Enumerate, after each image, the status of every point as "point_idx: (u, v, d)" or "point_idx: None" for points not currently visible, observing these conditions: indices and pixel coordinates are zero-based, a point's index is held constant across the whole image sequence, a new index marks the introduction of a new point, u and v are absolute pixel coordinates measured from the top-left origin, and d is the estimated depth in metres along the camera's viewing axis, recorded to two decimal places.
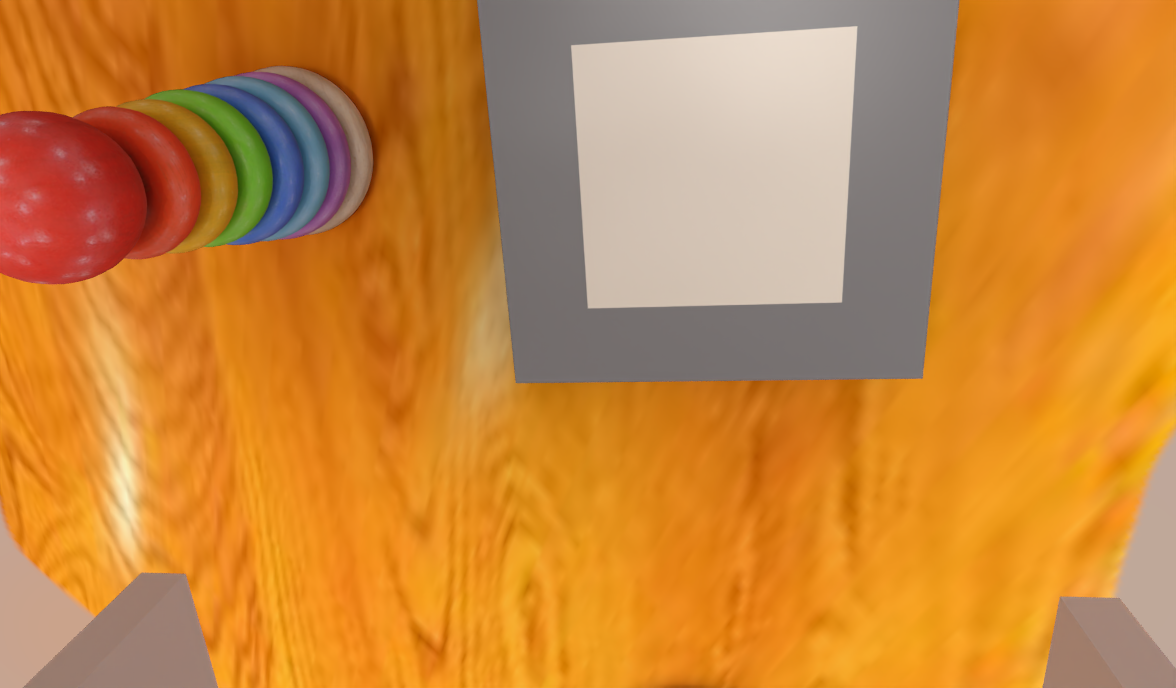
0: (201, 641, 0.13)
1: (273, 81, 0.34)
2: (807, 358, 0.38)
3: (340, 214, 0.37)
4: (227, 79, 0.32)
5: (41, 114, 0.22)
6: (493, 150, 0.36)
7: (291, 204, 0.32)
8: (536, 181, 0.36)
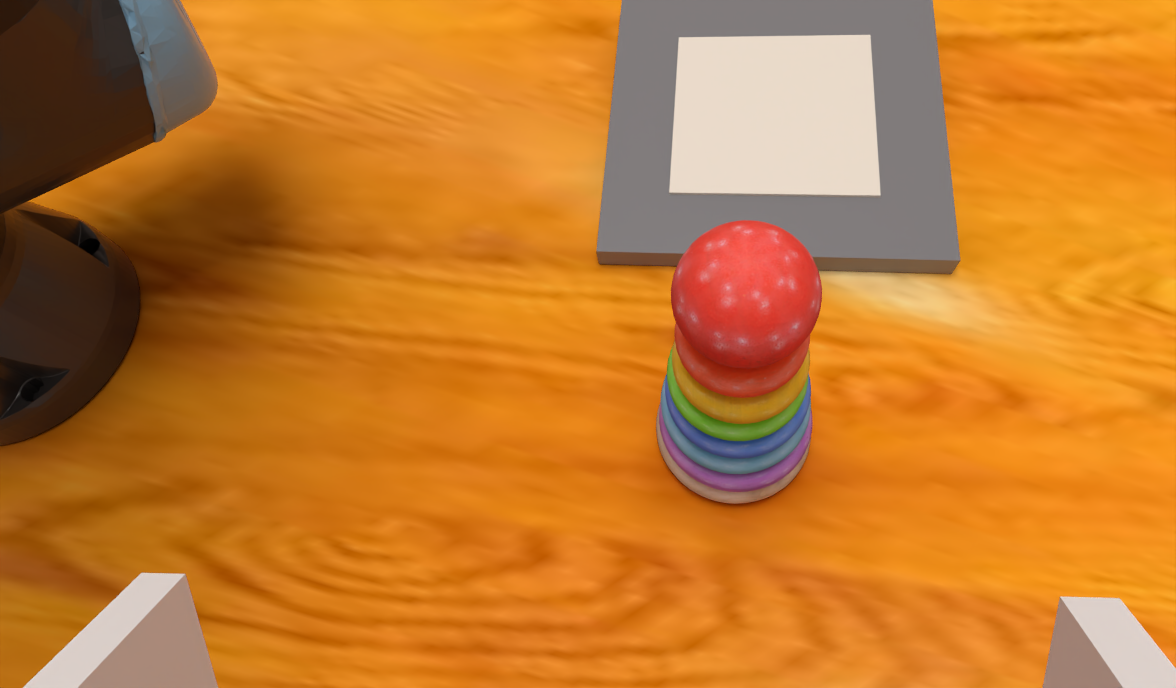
0: (201, 641, 0.13)
1: None
2: (919, 54, 0.48)
3: None
4: (663, 394, 0.37)
5: None
6: None
7: None
8: None
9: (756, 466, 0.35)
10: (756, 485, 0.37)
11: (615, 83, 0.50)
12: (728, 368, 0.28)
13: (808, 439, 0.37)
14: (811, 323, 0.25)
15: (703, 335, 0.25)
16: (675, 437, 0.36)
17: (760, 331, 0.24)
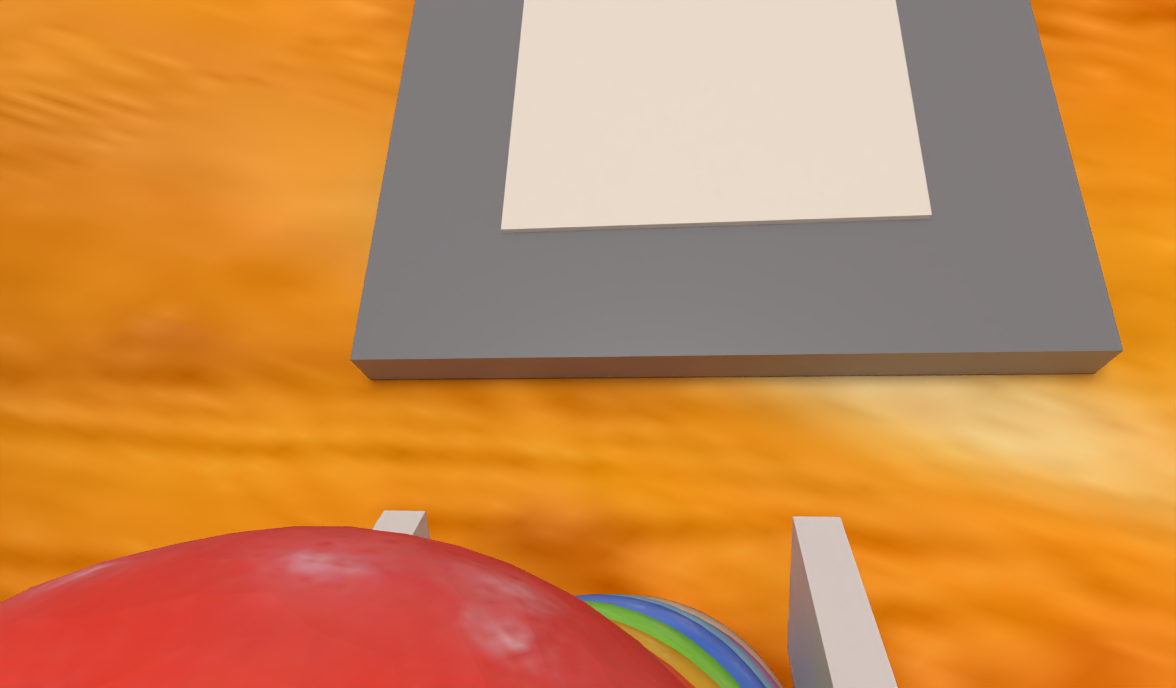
0: None
1: None
2: None
3: None
4: None
5: None
6: (647, 354, 0.21)
7: (699, 628, 0.12)
8: (703, 290, 0.21)
9: None
10: None
11: (413, 29, 0.27)
12: None
13: None
14: None
15: None
16: None
17: None
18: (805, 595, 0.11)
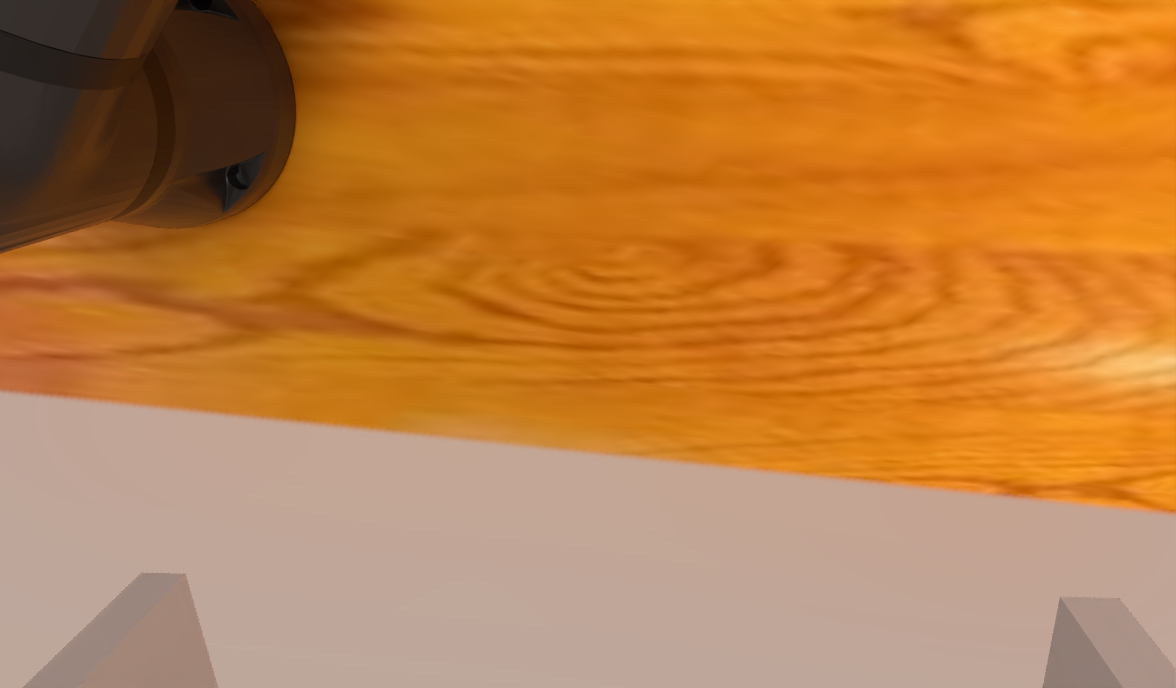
0: (201, 641, 0.13)
1: None
2: None
3: None
4: None
5: None
6: None
7: None
8: None
9: None
10: None
11: None
12: None
13: None
14: None
15: None
16: None
17: None
18: None
